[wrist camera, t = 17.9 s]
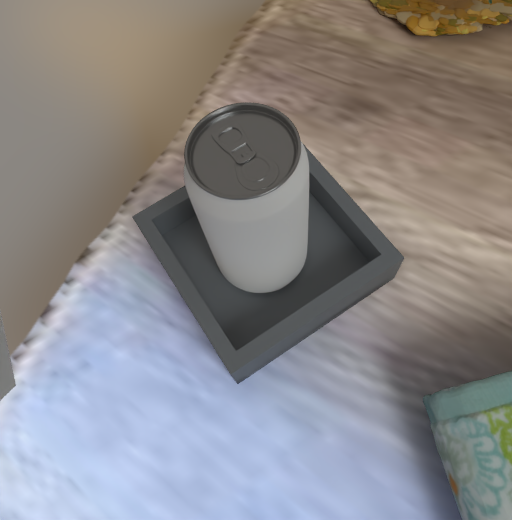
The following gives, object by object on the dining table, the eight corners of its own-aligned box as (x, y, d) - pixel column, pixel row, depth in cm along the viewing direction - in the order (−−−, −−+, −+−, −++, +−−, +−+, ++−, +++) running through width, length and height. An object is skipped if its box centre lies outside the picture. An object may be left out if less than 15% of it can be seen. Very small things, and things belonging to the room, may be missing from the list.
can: (246, 313, 32) (217, 232, 21) (200, 241, 34) (152, 135, 23) (325, 263, 33) (338, 160, 22) (274, 197, 35) (262, 75, 24)
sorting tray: (287, 154, 38) (287, 125, 34) (394, 278, 33) (404, 257, 30) (147, 238, 36) (132, 216, 32) (237, 384, 31) (230, 374, 28)
